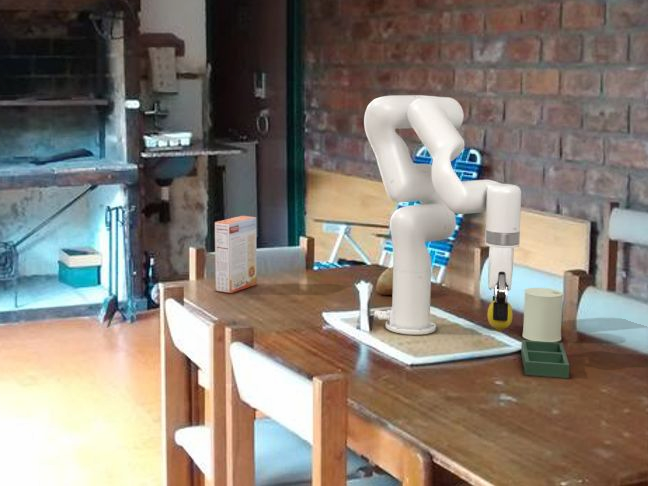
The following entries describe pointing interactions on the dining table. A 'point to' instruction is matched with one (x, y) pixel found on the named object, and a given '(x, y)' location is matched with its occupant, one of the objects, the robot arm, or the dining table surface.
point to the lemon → (499, 324)
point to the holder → (544, 359)
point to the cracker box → (235, 254)
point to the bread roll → (385, 282)
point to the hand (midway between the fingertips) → (499, 316)
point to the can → (542, 314)
